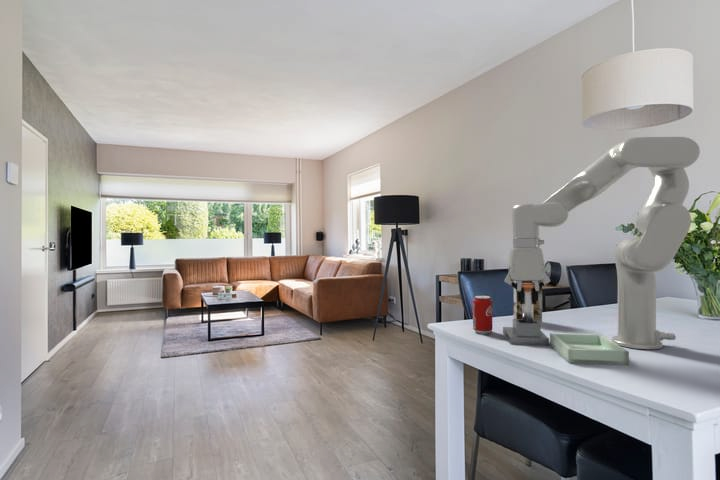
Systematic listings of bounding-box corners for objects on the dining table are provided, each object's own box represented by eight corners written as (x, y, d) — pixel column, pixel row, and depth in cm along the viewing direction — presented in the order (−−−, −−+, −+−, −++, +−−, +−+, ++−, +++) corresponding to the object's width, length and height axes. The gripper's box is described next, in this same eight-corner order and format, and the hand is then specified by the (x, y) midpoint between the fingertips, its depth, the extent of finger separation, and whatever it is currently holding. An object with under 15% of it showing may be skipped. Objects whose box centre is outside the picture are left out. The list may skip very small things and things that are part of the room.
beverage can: (493, 334, 139) (493, 298, 139) (473, 333, 140) (473, 297, 140) (491, 330, 145) (491, 295, 145) (472, 329, 146) (472, 295, 146)
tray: (601, 346, 123) (601, 334, 123) (628, 365, 105) (628, 351, 105) (550, 344, 125) (550, 333, 125) (568, 363, 108) (568, 349, 108)
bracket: (537, 334, 139) (537, 315, 139) (548, 345, 125) (548, 324, 125) (503, 332, 141) (502, 315, 141) (510, 343, 127) (509, 323, 127)
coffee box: (516, 324, 154) (516, 280, 154) (513, 320, 161) (512, 278, 161) (542, 324, 153) (542, 280, 153) (538, 321, 159) (538, 278, 159)
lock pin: (534, 321, 132) (533, 282, 132) (537, 324, 128) (536, 284, 128) (519, 321, 133) (518, 282, 133) (522, 324, 128) (521, 284, 128)
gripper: (551, 243, 132) (552, 301, 132) (496, 244, 135) (498, 301, 135) (557, 243, 125) (559, 305, 125) (499, 245, 128) (501, 305, 128)
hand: (527, 302), depth 130 cm, fingers closed on lock pin, 3 cm apart
